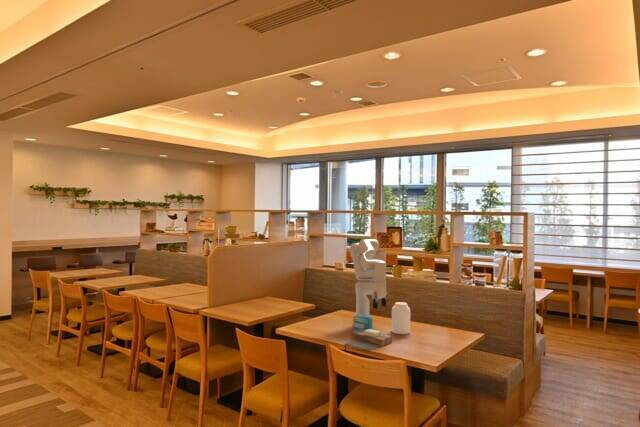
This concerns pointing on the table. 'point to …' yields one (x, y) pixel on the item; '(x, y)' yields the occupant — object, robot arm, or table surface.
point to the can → (400, 318)
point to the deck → (374, 338)
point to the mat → (362, 345)
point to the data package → (361, 323)
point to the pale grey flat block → (372, 333)
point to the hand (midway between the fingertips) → (379, 307)
